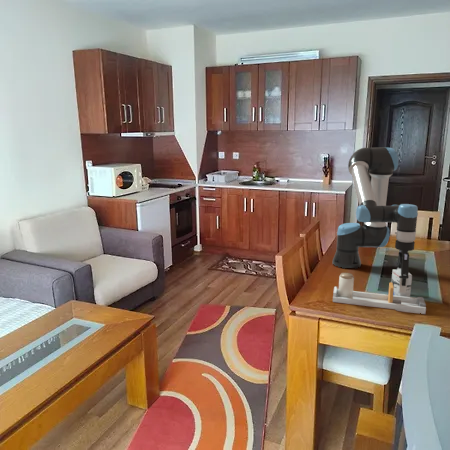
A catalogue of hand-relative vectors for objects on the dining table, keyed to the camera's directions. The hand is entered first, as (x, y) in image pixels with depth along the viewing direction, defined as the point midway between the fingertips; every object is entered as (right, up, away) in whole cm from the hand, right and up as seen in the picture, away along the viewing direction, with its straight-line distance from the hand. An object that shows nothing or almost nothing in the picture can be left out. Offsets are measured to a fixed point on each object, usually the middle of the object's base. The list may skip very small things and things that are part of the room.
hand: (400, 287), depth 175 cm
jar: (-25, -5, -2) cm, 26 cm away
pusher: (-6, -6, -8) cm, 12 cm away
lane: (-13, -6, -6) cm, 16 cm away
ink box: (0, -5, +1) cm, 5 cm away
